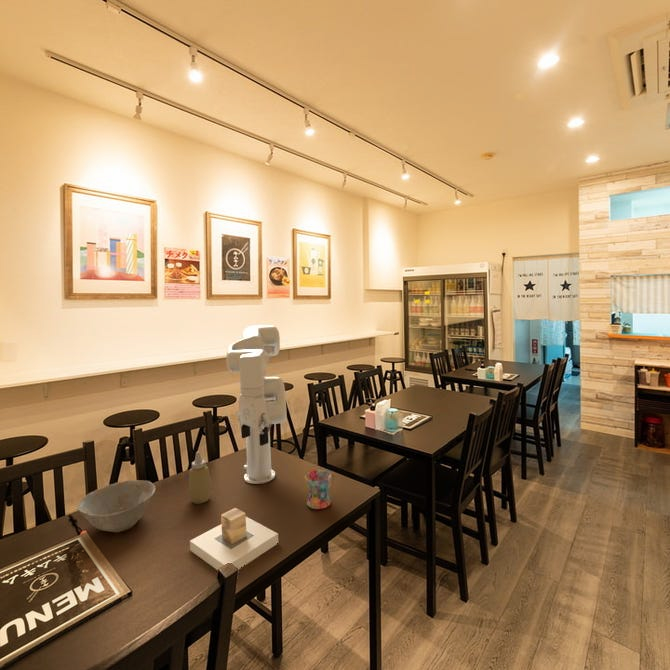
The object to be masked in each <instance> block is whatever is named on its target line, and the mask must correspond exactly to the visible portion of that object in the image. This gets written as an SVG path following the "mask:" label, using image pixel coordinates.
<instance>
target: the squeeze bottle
mask: <svg viewBox="0 0 670 670" xmlns="http://www.w3.org/2000/svg"><path fill="white" fill-rule="evenodd" d="M209 470H210V469H209V466H207V465H206V460H205V459H202V456H201V452H200V451H196V452H195V458H194V461H192V462H191V468H190V469H189V473H188V474H189V477H188V495H189V497H190V499H191V501H192V503H193V504H197V505H198V504H200V505H201V504H203V503H206V502H208V501H209V500H210V498H211V494H212V489H213V487H212V482H211V475H210V471H209Z"/></svg>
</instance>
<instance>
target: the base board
mask: <svg viewBox="0 0 670 670" xmlns="http://www.w3.org/2000/svg"><path fill="white" fill-rule="evenodd" d="M246 532H247V536H246V537H244V538H242V539H240V540H239V541H237V542H235V543H234V544H231V543H230V542H228V541H227V540H225V539H223V538H222V525H221V524H219V525H217V526H215V527H213V528H211V529H209V530H208V531H206V532H204V533H202V534H200V535H198V536H196V537H194V538H192V539H191V540H189V550H190V552H192V553H193V554H194V555H196V556H197V557H199V558H200V559H202V560H203V561H204V562H205V563H206V564H208V565H209V566H210V567H212V568H214V569H215V570H217V571H218V569H219V568H220V567H222V566H223V565H225V564H227V563H232V564H233V565H234V566H235V567H237V568H238V570H240V569H242V568H243V567H245V566H246V565H248V564H249V563H251V562H252V561H254V560H255V559H257V558H258V557H259V556H261V555H263V554H264V553H266V552H267V551H269V550H271V549H272V548H273V547H275V546H276V545H278V544H279V533H278V532H275V530H272V529H270V528H268V527H267V526H264V525H263V524H261V523H259V522H257V521H255V520H253V519H251V518H250V517H248V516H246ZM277 543H278V544H277ZM244 565H245V566H244ZM241 567H242V568H241Z"/></svg>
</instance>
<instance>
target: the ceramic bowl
mask: <svg viewBox="0 0 670 670" xmlns="http://www.w3.org/2000/svg"><path fill="white" fill-rule="evenodd" d="M155 491H156V485H155V484H154V483H152V482H151V481H150V480H144V479H143V480H139V479H138V480H137V479H132V480H131V479H130V480H124V481H118V482H114V483H111V484H109V485H105V486H104V487H103V486H102V487H100V488H97V489H94V491H91V492H88V493H87V494H86V495H85V496H84V497H82V499H80V501H78V504H77V510H78V511H79V513H80V514H81V515H82V516H83V517H84V518H85V520H87V522H88V523H89V524H90V525H92V526H93V527H94V528H95V529H97V530H100V531H103V532H109V533H122V532H124V531H127V530H129V529H131V528H133V527H134V526H135V525H136V524H137V522H139V520H140V519H141V518H142V517H143V516H144V513H145V511H146V510H147V508H148V506H149V503H150V502H151V499H152V498H153V496H154V494H155ZM121 531H122V532H121Z"/></svg>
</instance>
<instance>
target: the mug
mask: <svg viewBox="0 0 670 670" xmlns="http://www.w3.org/2000/svg"><path fill="white" fill-rule="evenodd" d="M334 478H335V477H334V474H333V473H331V472H329V471H327V470H325V469H316V470H315V469H314V470H311V471H308V472H307V473H305V475H304V479H305V482H306V484H307V487H308V498H307V501H306V505H307V506H308V507H309V508H311V509H313V510H323V509H326V508H328V507H330V506H331V502H332V500H331V499H330V496H329V495H330V494H329V489H330V488H331V486H332V483H333V481H334Z"/></svg>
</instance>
